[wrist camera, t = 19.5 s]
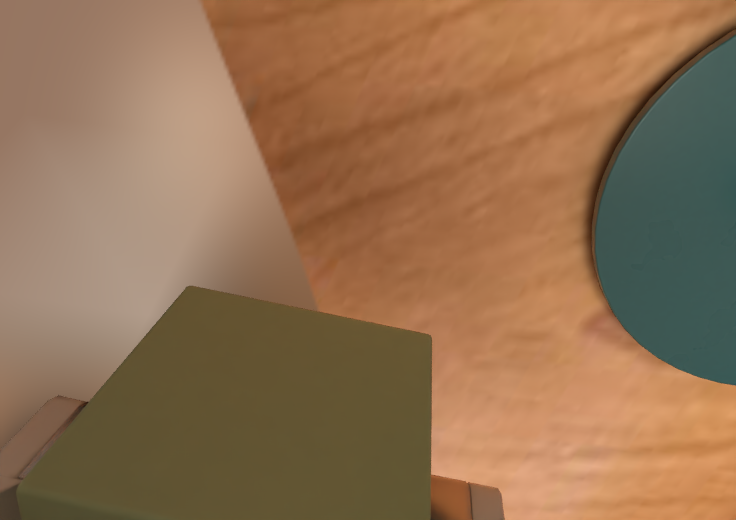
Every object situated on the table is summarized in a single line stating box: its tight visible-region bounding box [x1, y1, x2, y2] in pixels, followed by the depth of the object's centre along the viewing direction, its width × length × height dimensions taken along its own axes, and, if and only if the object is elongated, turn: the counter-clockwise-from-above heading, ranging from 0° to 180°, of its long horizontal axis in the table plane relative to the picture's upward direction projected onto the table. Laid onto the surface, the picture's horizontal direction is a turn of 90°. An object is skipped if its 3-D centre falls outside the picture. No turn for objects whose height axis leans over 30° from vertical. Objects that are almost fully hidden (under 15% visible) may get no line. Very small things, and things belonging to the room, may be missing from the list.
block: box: [16, 286, 432, 520], centre depth 9 cm, size 4×4×4 cm
